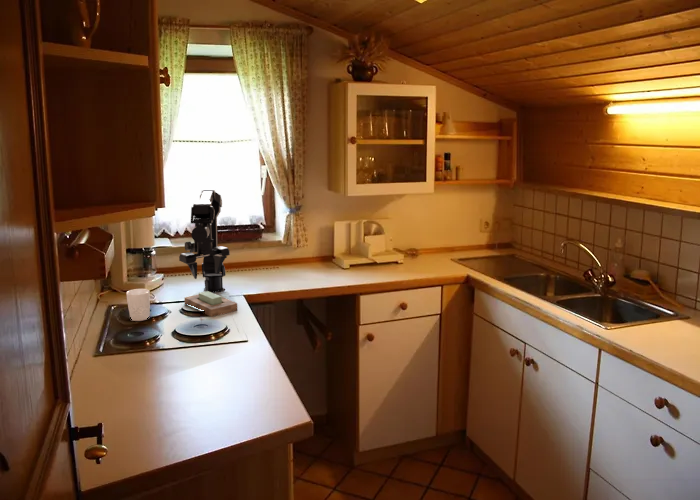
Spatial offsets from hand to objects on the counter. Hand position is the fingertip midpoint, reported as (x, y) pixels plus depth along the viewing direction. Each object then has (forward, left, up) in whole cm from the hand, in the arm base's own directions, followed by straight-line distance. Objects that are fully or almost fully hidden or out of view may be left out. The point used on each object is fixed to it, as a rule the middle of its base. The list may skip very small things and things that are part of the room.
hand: (206, 276), depth 230 cm
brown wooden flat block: (0, +3, -12) cm, 12 cm away
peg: (0, +3, -11) cm, 11 cm away
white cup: (+25, -4, -12) cm, 28 cm away
